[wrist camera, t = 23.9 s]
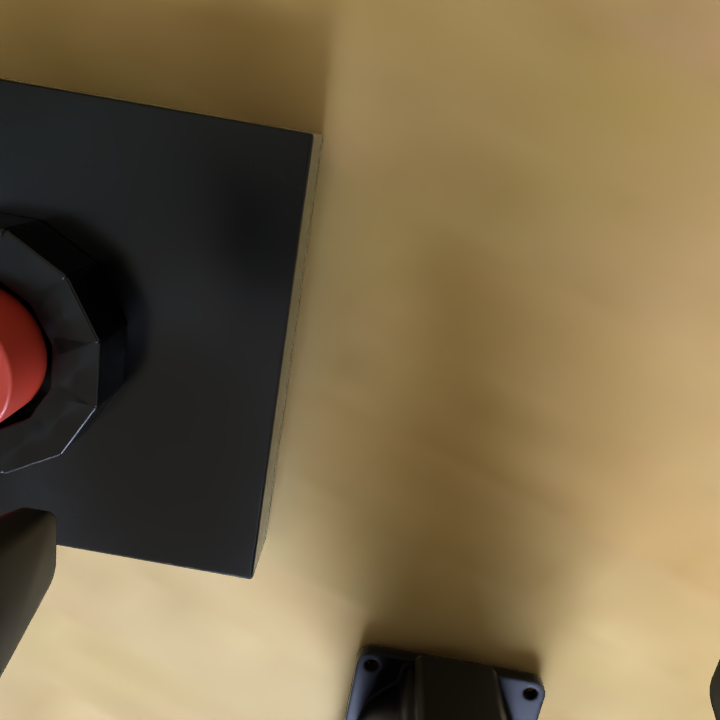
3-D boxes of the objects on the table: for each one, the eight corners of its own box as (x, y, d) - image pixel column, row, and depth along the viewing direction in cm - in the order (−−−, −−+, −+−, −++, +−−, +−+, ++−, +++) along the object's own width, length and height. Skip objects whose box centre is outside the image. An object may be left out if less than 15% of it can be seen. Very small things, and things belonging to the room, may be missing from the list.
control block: (265, 540, 23) (238, 620, 19) (-52, 483, 23) (-143, 552, 19) (323, 134, 19) (304, 133, 15) (-63, 66, 19) (-181, 47, 15)
